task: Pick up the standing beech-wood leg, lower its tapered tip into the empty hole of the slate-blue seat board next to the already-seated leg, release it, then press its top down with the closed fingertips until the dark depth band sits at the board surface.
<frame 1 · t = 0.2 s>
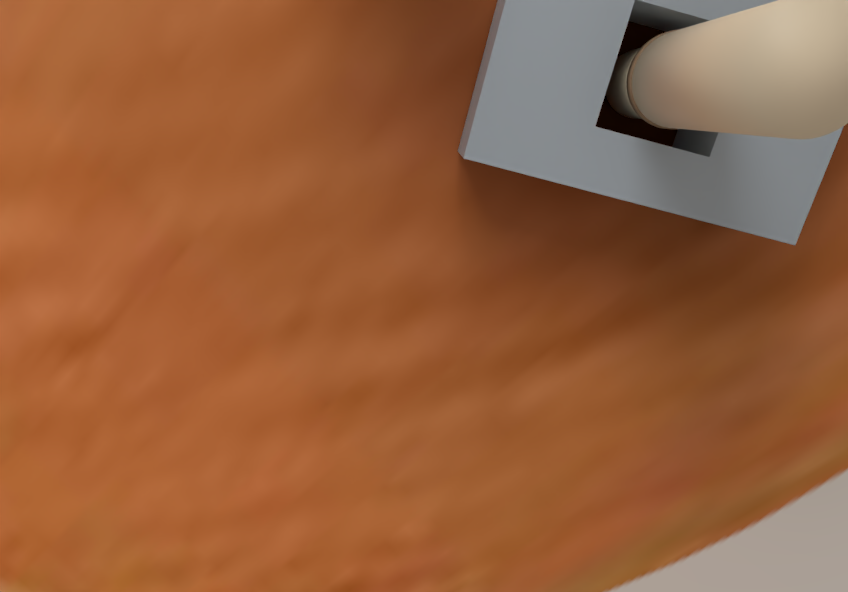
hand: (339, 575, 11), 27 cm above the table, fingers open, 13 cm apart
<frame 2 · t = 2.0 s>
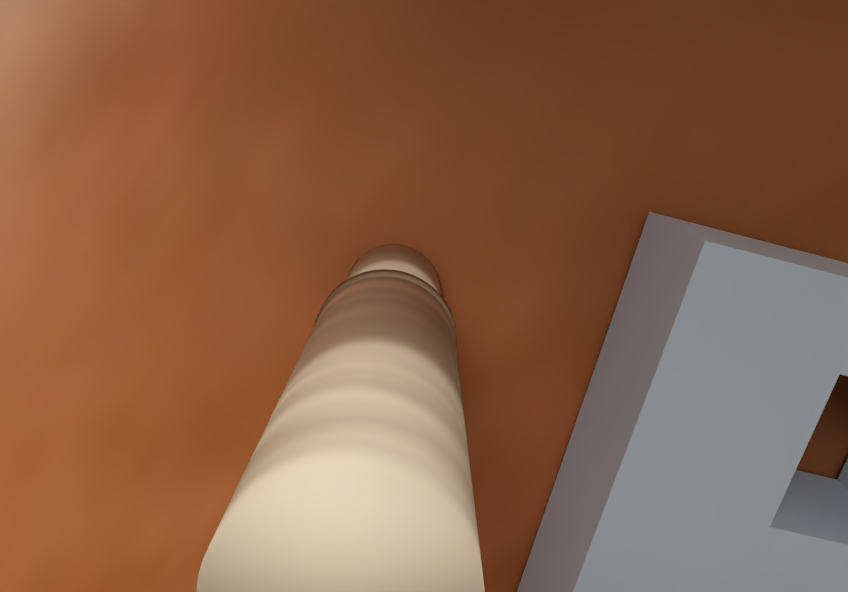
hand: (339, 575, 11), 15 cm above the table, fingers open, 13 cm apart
beech leg: (393, 290, 25), on the table
seat board: (755, 503, 27), on the table
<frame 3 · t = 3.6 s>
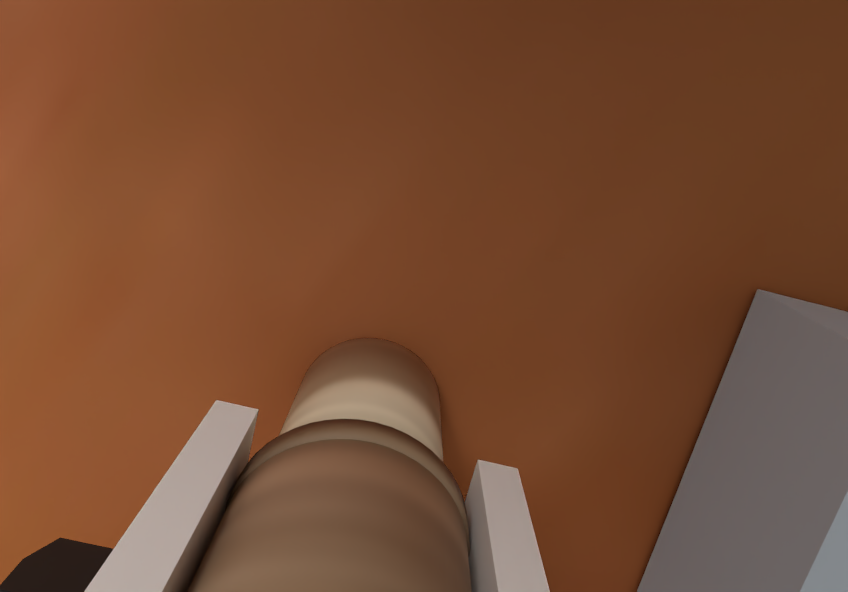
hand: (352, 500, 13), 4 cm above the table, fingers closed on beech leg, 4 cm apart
beech leg: (369, 404, 17), on the table, touching gripper
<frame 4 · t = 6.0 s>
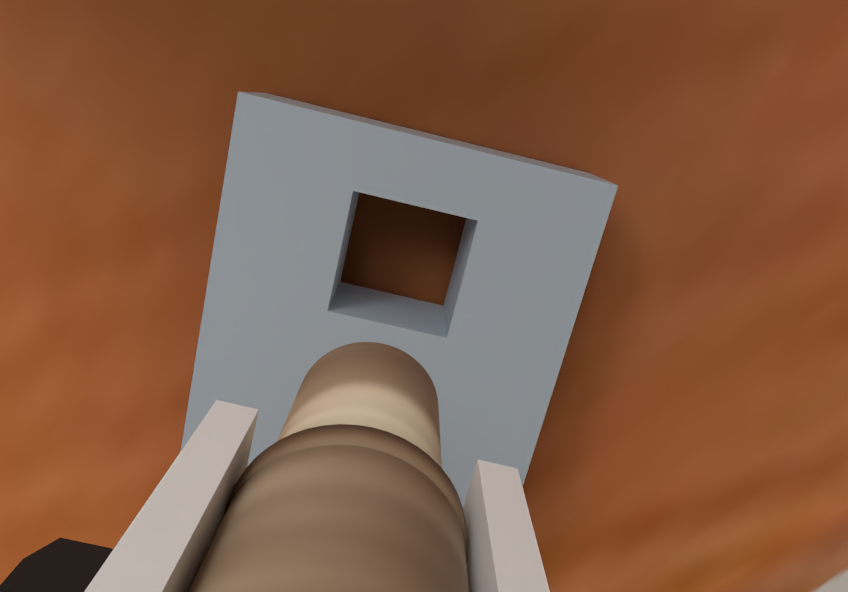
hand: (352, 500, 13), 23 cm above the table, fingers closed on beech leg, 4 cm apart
beech leg: (368, 408, 17), point 19 cm above the table, touching gripper
seat board: (384, 326, 36), on the table
when the fingers open (6 cm above the table, at t = 8.7 s): beech leg drops 2 cm, resting in seat board.
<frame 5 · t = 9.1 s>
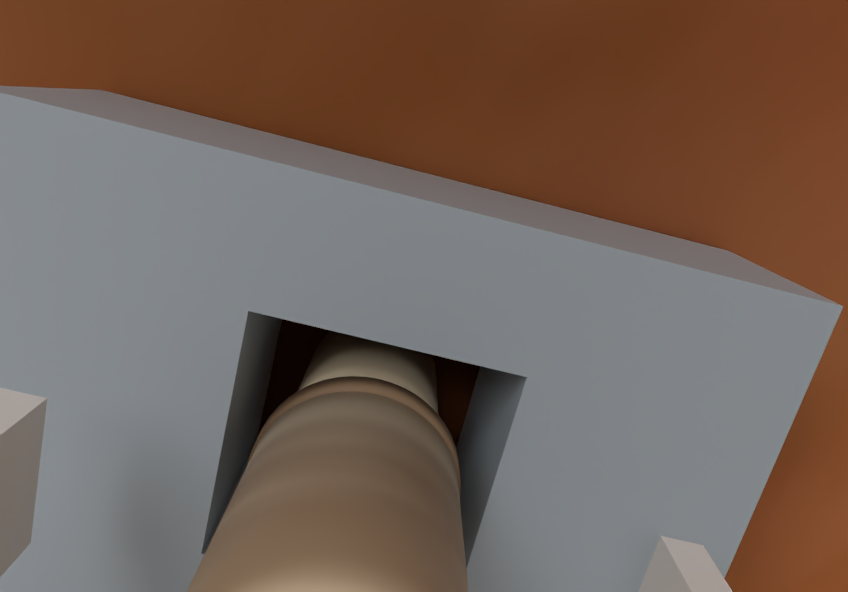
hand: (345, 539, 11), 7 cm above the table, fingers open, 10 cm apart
beech leg: (373, 375, 18), resting in seat board
seat board: (338, 515, 20), on the table
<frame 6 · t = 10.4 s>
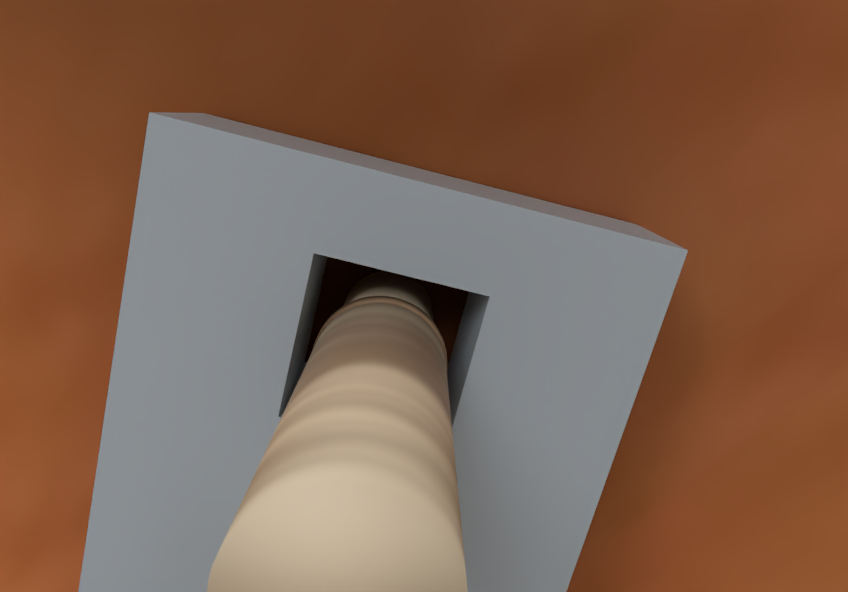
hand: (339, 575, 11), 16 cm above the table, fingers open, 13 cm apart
beech leg: (388, 314, 26), resting in seat board
seat board: (362, 419, 27), on the table
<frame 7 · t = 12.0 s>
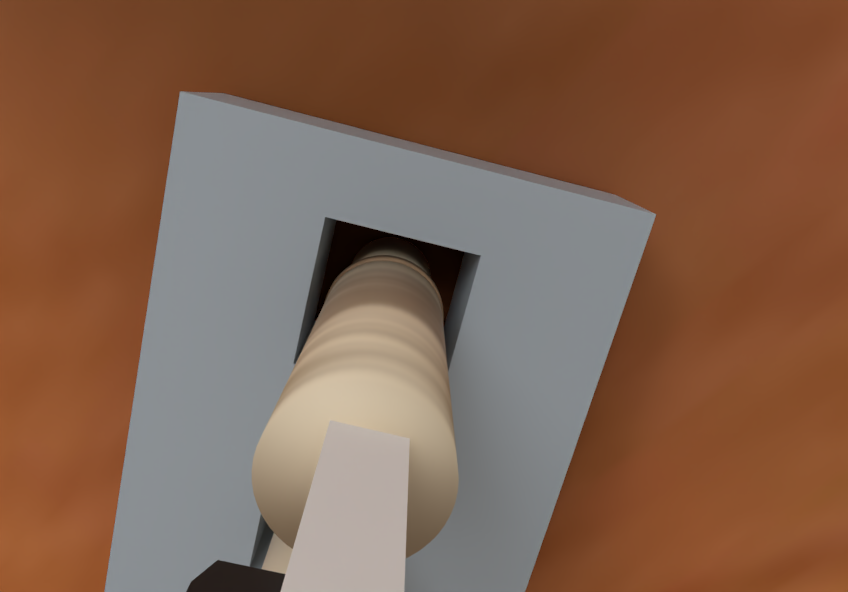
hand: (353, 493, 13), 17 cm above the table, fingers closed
beech leg: (390, 277, 29), resting in seat board
seat board: (367, 373, 30), on the table
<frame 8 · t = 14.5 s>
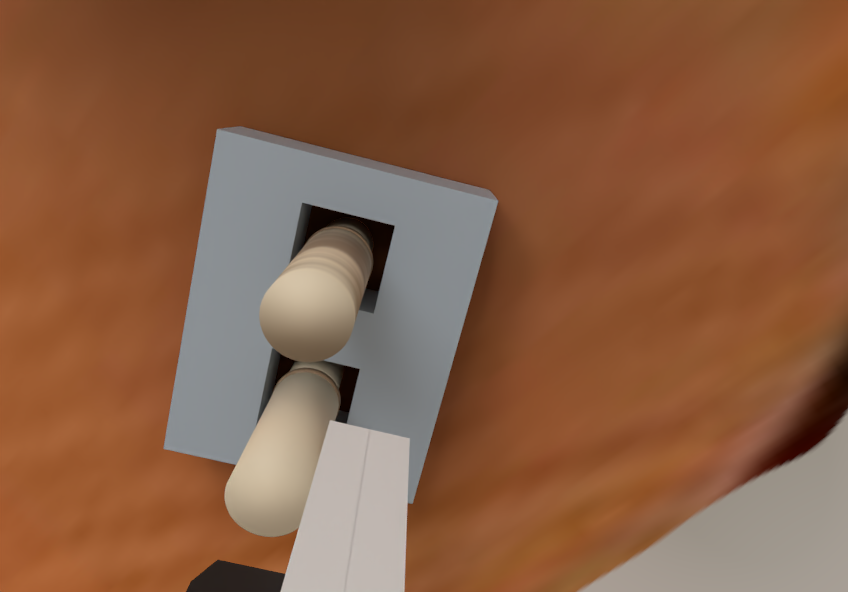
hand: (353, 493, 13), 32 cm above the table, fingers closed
beech leg: (347, 243, 44), resting in seat board
seat board: (332, 307, 46), on the table
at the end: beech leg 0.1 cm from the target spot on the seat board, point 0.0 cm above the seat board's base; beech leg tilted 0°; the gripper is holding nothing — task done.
